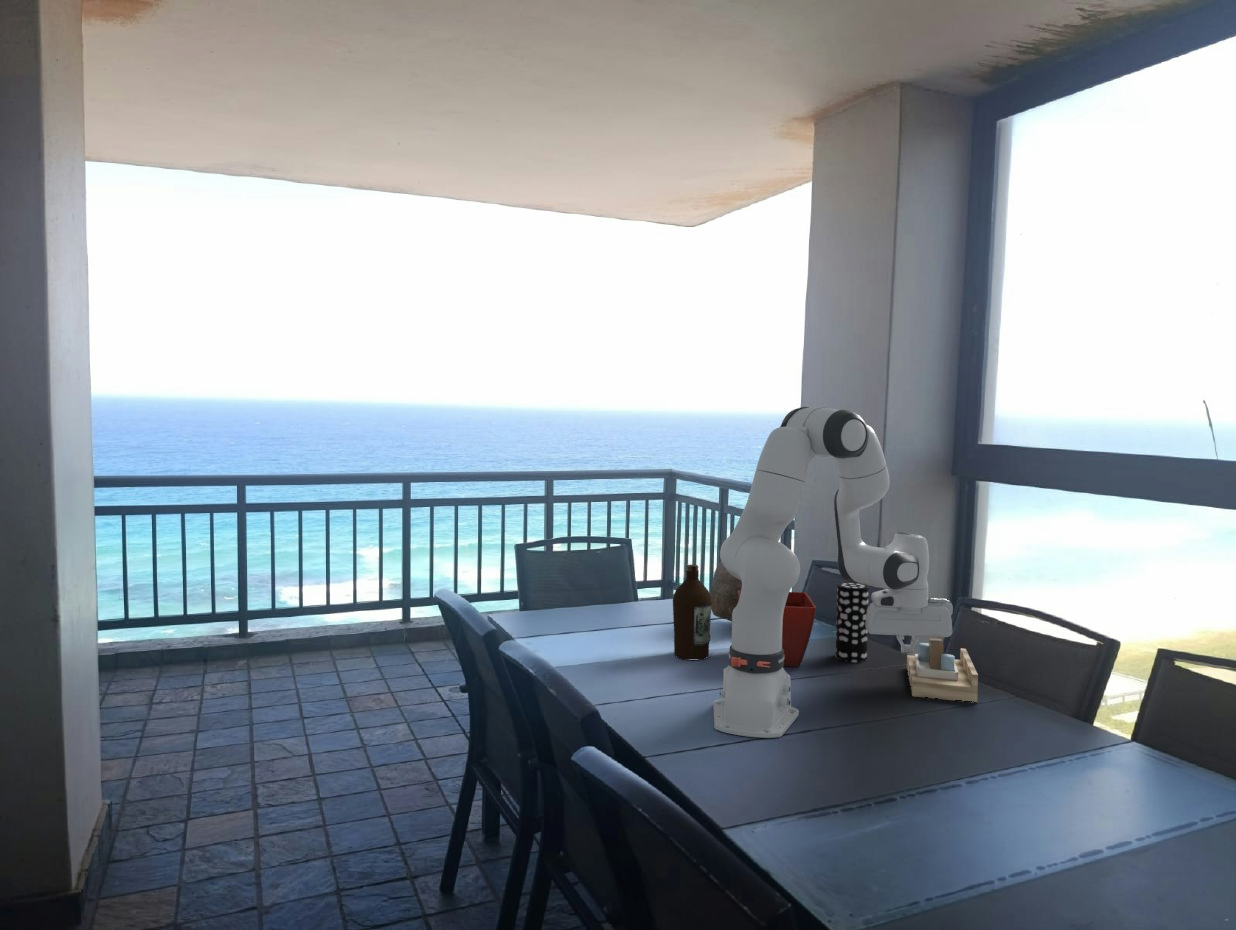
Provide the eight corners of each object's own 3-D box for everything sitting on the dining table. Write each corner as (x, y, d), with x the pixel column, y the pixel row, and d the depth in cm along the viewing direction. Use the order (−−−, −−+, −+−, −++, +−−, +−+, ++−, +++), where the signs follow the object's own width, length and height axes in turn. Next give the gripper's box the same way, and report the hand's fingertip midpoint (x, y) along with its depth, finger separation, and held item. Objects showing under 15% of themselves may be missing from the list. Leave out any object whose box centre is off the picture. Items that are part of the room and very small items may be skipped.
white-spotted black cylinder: (863, 653, 217) (865, 582, 216) (870, 662, 209) (872, 589, 208) (833, 652, 218) (834, 581, 217) (838, 661, 210) (840, 588, 209)
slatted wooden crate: (977, 702, 179) (978, 675, 179) (912, 696, 184) (913, 668, 183) (964, 673, 200) (965, 648, 200) (906, 668, 205) (907, 643, 204)
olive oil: (664, 655, 215) (665, 565, 213) (689, 647, 222) (690, 560, 221) (693, 663, 207) (694, 570, 206) (718, 655, 214) (720, 565, 213)
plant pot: (805, 650, 220) (806, 591, 219) (815, 671, 201) (816, 607, 200) (736, 648, 222) (737, 589, 221) (740, 668, 203) (741, 605, 202)
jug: (697, 621, 251) (698, 529, 250) (757, 617, 258) (758, 526, 256) (730, 641, 228) (732, 540, 226) (795, 636, 234) (797, 537, 233)
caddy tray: (958, 680, 185) (959, 651, 184) (917, 676, 187) (918, 647, 187) (952, 664, 197) (953, 636, 197) (914, 660, 200) (915, 633, 199)
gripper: (949, 596, 195) (947, 650, 196) (864, 593, 198) (863, 647, 198) (956, 601, 189) (955, 658, 189) (869, 598, 191) (868, 654, 192)
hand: (907, 652), depth 194 cm, fingers closed
